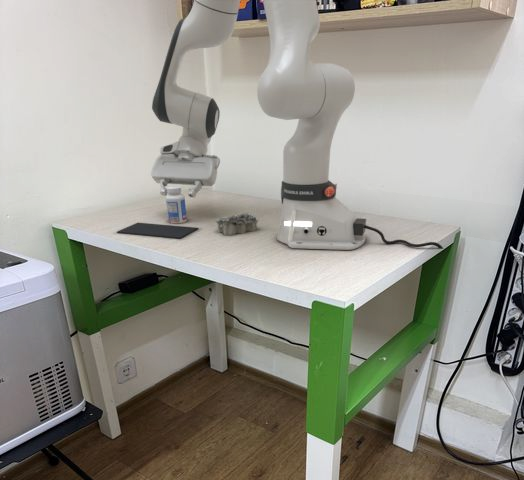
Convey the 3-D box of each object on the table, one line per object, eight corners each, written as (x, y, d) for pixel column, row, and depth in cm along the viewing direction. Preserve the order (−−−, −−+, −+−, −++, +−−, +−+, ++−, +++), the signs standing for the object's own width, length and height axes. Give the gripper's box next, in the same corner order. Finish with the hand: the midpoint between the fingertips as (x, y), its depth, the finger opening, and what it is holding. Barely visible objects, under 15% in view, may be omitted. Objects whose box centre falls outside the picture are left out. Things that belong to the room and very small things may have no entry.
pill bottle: (182, 218, 145) (179, 184, 140) (190, 221, 141) (186, 187, 136) (165, 220, 143) (161, 187, 138) (172, 224, 139) (168, 189, 134)
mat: (198, 229, 134) (198, 227, 134) (180, 238, 126) (180, 237, 126) (137, 223, 140) (137, 222, 140) (117, 232, 132) (117, 231, 132)
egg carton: (226, 236, 127) (225, 221, 125) (214, 230, 132) (212, 215, 130) (260, 230, 131) (260, 215, 129) (247, 224, 137) (246, 209, 135)
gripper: (225, 162, 142) (213, 203, 139) (165, 160, 149) (152, 199, 145) (217, 148, 136) (204, 190, 133) (156, 147, 143) (142, 187, 140)
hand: (177, 195), depth 139 cm, fingers open, 8 cm apart
